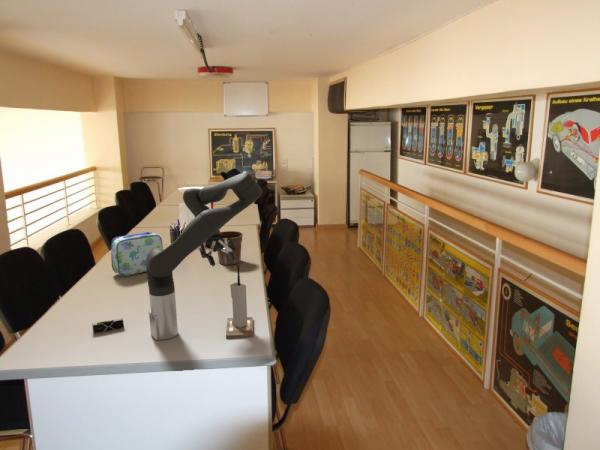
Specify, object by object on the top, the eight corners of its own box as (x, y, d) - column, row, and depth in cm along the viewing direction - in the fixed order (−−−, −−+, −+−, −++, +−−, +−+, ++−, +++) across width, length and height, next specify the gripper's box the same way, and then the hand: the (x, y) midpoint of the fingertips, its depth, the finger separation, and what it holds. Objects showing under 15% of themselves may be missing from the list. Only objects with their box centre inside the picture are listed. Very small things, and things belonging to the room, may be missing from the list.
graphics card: (92, 335, 189) (91, 325, 187) (91, 331, 191) (90, 321, 189) (124, 329, 194) (123, 319, 192) (123, 325, 196) (122, 315, 194)
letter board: (252, 336, 185) (252, 333, 184) (226, 338, 184) (225, 335, 183) (252, 319, 200) (252, 316, 200) (227, 320, 199) (227, 318, 199)
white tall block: (211, 243, 319) (180, 242, 322) (217, 238, 330) (187, 237, 333) (208, 189, 311) (177, 189, 314) (214, 187, 322) (184, 186, 325)
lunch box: (157, 264, 276) (154, 227, 271) (166, 268, 268) (163, 231, 263) (111, 274, 259) (107, 235, 254) (119, 279, 251) (115, 239, 246)
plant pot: (242, 266, 270) (241, 237, 266) (212, 266, 270) (211, 238, 266) (245, 257, 285) (244, 230, 282) (218, 258, 286) (216, 231, 282)
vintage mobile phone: (239, 322, 195) (236, 261, 189) (247, 325, 191) (245, 264, 186) (231, 325, 192) (229, 263, 187) (240, 328, 189) (237, 266, 183)
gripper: (221, 231, 208) (236, 264, 202) (190, 236, 200) (204, 271, 194) (227, 222, 203) (242, 255, 197) (195, 226, 195) (210, 261, 189)
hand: (223, 263), depth 195 cm, fingers open, 8 cm apart
